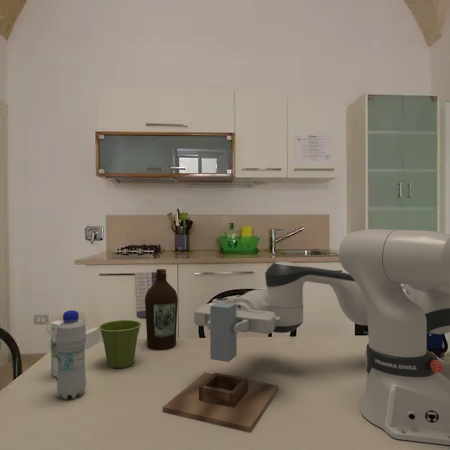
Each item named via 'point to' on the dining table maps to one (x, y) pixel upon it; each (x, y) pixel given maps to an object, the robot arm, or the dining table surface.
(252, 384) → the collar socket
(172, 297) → the olive oil
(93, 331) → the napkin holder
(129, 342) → the plant pot
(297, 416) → the dining table surface
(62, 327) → the bottle
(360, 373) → the dining table surface
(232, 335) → the grey peg
